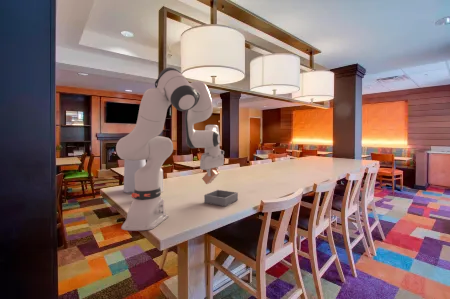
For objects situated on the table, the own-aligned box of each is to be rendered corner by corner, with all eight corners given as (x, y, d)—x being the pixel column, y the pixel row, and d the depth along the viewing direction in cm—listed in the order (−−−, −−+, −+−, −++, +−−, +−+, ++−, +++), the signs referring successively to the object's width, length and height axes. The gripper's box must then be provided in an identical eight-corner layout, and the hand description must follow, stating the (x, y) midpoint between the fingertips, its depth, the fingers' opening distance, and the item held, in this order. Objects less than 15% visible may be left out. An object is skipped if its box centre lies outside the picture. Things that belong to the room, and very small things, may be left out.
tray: (225, 206, 126) (225, 198, 126) (204, 202, 134) (204, 194, 133) (237, 200, 138) (237, 192, 138) (217, 196, 146) (217, 189, 145)
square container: (201, 178, 140) (211, 168, 135) (206, 177, 143) (215, 167, 139) (206, 184, 138) (215, 174, 134) (210, 182, 142) (219, 172, 138)
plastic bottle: (149, 187, 173) (148, 150, 171) (145, 192, 158) (143, 152, 156) (128, 188, 171) (126, 150, 169) (122, 193, 156) (120, 152, 154)
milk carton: (148, 192, 157) (147, 165, 156) (155, 190, 164) (154, 163, 163) (156, 193, 154) (155, 165, 153) (163, 191, 161) (162, 164, 159)
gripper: (206, 153, 127) (206, 178, 127) (225, 151, 144) (225, 173, 145) (197, 153, 130) (197, 177, 131) (217, 150, 147) (217, 172, 148)
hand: (212, 175), depth 138 cm, fingers closed on square container, 4 cm apart
